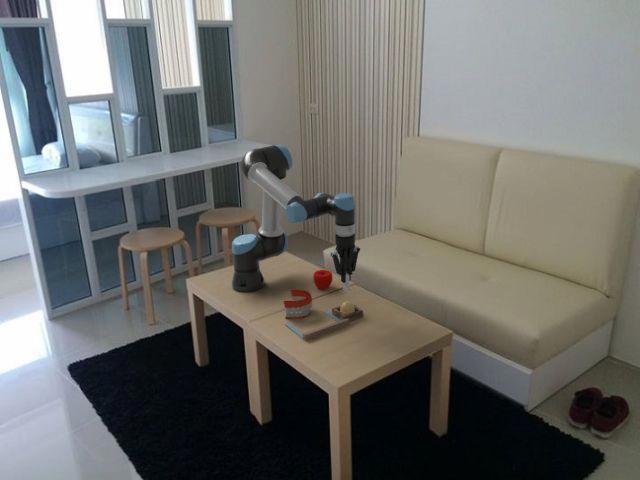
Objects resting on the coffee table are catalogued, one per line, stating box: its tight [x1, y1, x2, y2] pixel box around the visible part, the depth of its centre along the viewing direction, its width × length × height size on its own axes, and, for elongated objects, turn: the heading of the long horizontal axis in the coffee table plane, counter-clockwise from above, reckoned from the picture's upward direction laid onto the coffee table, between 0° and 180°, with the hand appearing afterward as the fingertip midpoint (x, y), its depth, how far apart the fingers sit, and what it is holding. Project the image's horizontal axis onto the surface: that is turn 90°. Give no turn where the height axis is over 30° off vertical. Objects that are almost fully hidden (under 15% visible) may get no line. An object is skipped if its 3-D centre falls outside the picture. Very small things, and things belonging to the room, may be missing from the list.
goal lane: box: [284, 309, 350, 342], centre depth 227 cm, size 16×20×2 cm
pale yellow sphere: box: [339, 300, 355, 315], centre depth 232 cm, size 6×6×6 cm
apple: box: [312, 269, 333, 291], centre depth 258 cm, size 9×9×8 cm
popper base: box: [331, 305, 364, 323], centre depth 233 cm, size 9×9×3 cm
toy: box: [283, 288, 313, 320], centre depth 236 cm, size 12×10×8 cm
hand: (346, 288), depth 229 cm, fingers closed
